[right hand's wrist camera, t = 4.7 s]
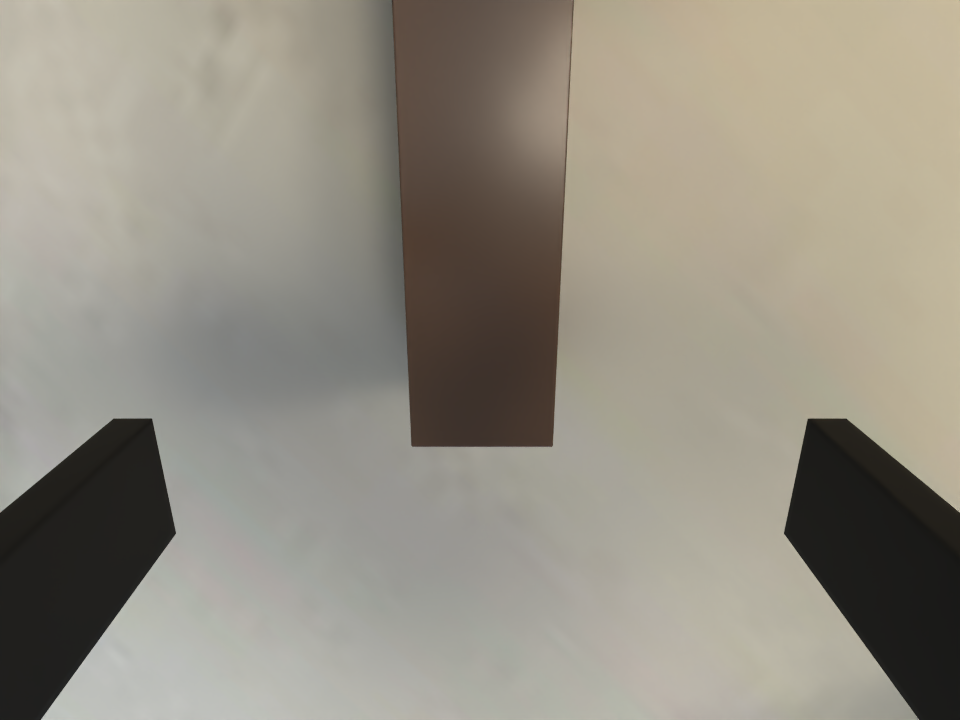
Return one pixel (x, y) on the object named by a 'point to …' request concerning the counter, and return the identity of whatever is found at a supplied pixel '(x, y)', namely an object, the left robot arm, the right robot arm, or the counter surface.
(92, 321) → the counter surface
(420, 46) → the walnut beam
